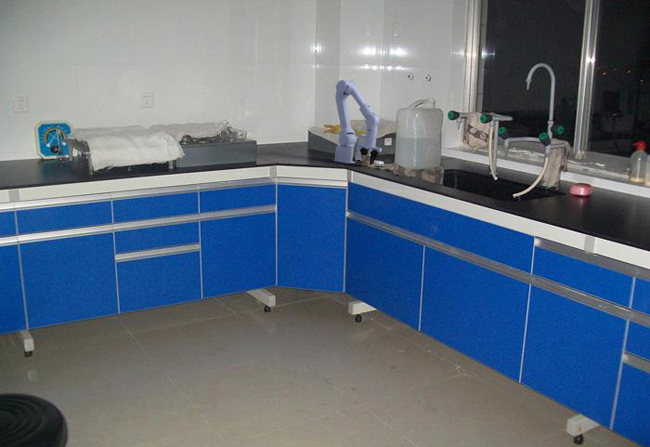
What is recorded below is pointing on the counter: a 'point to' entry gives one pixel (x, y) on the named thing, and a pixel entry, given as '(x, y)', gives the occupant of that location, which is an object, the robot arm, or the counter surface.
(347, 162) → the robot arm
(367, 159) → the beech block
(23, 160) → the counter surface
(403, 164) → the counter surface
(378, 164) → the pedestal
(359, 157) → the skincare box
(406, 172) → the counter surface
